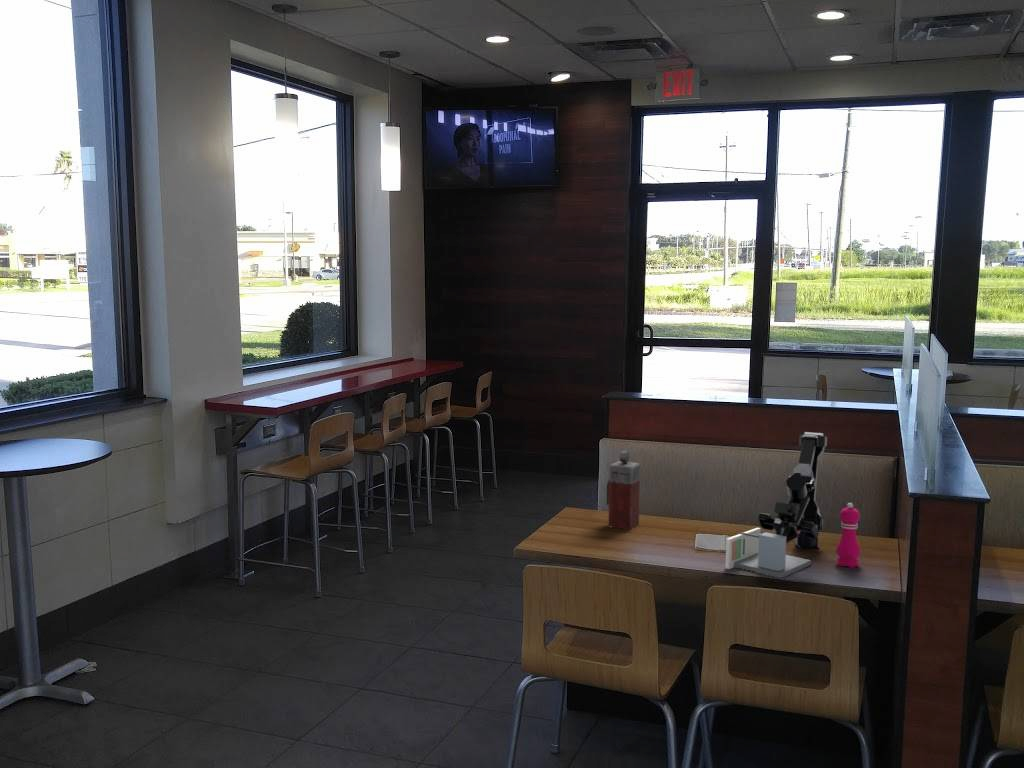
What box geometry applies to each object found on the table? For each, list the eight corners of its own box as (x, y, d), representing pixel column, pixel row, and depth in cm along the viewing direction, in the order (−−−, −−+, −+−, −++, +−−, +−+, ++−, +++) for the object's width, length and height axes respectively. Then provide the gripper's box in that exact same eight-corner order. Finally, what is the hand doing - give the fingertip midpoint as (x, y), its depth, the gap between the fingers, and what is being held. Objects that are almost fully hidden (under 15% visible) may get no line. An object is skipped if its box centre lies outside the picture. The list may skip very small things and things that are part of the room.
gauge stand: (761, 553, 297) (762, 525, 296) (810, 564, 285) (812, 535, 284) (725, 568, 281) (726, 538, 280) (775, 580, 269) (776, 549, 268)
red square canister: (610, 521, 340) (611, 447, 337) (639, 524, 335) (640, 450, 332) (602, 526, 332) (603, 451, 329) (631, 529, 327) (632, 454, 324)
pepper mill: (832, 561, 289) (834, 500, 287) (855, 561, 289) (857, 500, 287) (840, 567, 282) (842, 505, 280) (863, 568, 281) (865, 505, 279)
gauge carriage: (744, 558, 286) (745, 527, 285) (786, 567, 275) (787, 536, 274) (736, 561, 282) (737, 530, 281) (778, 571, 272) (779, 539, 271)
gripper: (760, 487, 286) (741, 527, 279) (815, 496, 273) (797, 538, 266) (771, 508, 293) (753, 547, 286) (826, 517, 279) (808, 559, 273)
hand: (777, 547), depth 277 cm, fingers closed, pressing on gauge carriage
